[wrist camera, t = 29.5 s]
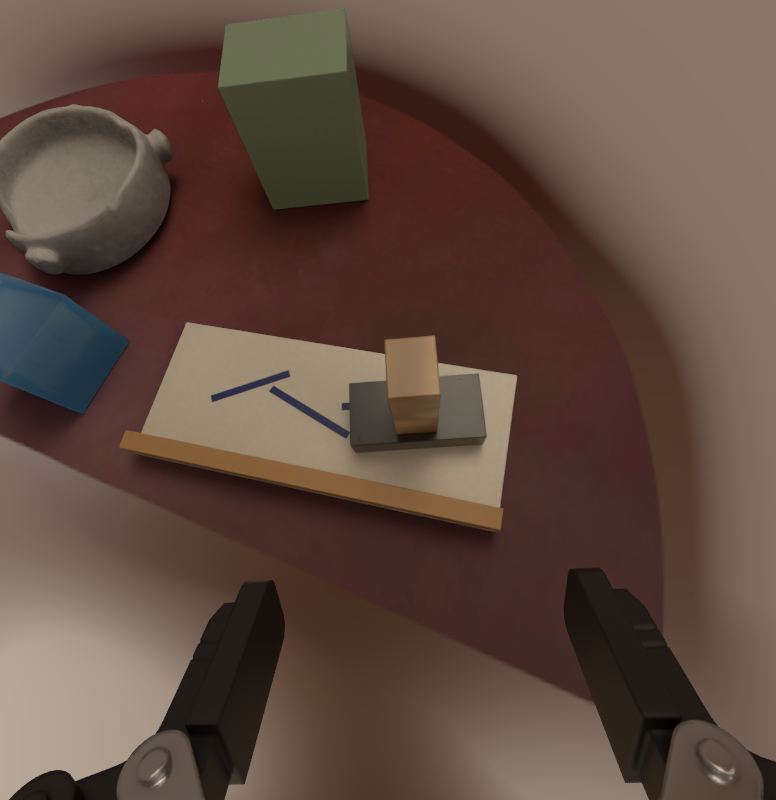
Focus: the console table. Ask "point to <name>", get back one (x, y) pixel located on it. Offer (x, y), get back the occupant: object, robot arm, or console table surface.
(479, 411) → the eraser
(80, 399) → the perfume bottle
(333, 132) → the block
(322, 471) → the board
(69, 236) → the dish
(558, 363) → the console table surface
